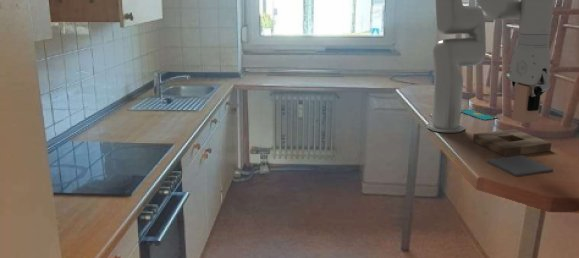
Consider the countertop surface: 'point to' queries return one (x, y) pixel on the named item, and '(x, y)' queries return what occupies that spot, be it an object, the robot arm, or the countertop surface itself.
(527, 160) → the mat
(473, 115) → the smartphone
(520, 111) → the block
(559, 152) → the countertop surface
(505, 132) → the pocket board
